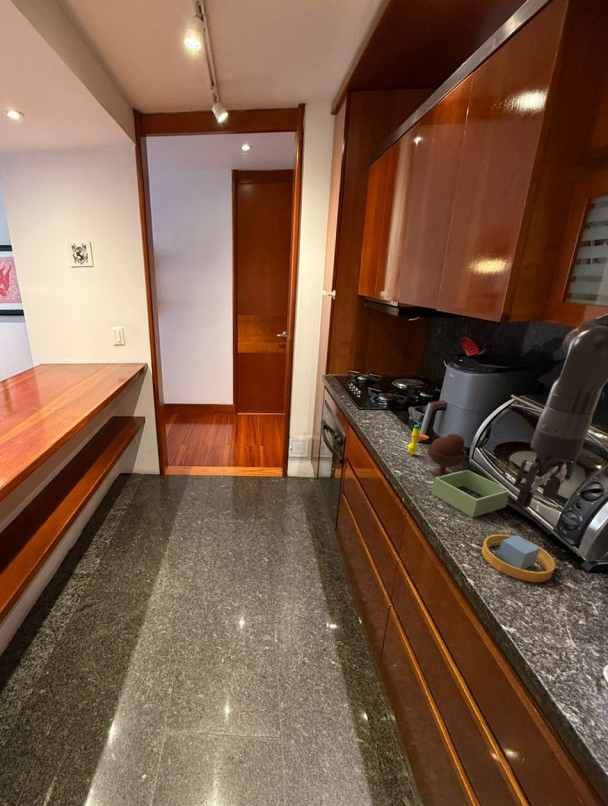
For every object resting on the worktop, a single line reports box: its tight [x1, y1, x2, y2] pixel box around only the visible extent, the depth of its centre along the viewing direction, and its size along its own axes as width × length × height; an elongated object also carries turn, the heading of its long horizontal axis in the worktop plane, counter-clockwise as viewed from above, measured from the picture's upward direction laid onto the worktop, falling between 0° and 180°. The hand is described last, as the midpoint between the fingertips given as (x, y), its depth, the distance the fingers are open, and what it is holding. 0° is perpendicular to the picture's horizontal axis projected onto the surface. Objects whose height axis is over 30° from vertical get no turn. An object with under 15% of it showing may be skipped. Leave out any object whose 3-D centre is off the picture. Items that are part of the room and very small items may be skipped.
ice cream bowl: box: [427, 433, 468, 477], centre depth 122 cm, size 11×11×15 cm
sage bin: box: [431, 469, 509, 518], centre depth 110 cm, size 13×13×6 cm
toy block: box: [496, 534, 540, 570], centre depth 86 cm, size 5×5×5 cm
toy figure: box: [405, 424, 429, 456], centre depth 136 cm, size 7×4×12 cm, turn 58°
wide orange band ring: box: [481, 533, 557, 583], centre depth 87 cm, size 13×13×3 cm
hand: (535, 501), depth 81 cm, fingers open, 8 cm apart
